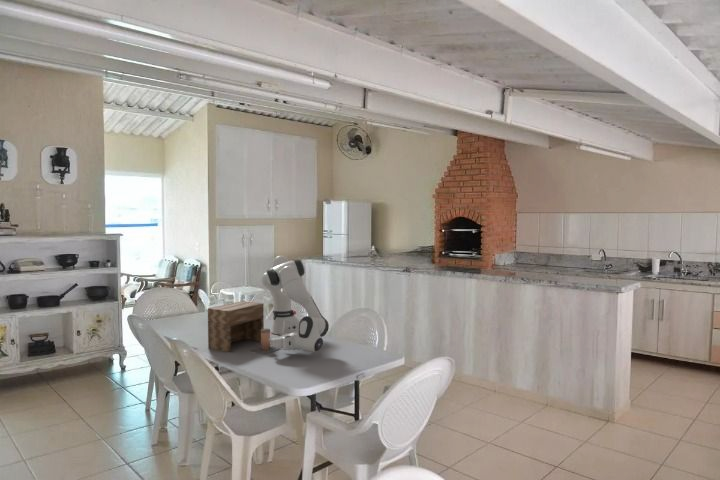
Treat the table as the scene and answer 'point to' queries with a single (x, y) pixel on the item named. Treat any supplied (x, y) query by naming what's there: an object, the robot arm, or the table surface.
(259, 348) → the mat
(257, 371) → the table surface
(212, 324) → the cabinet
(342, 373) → the table surface
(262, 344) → the canister
